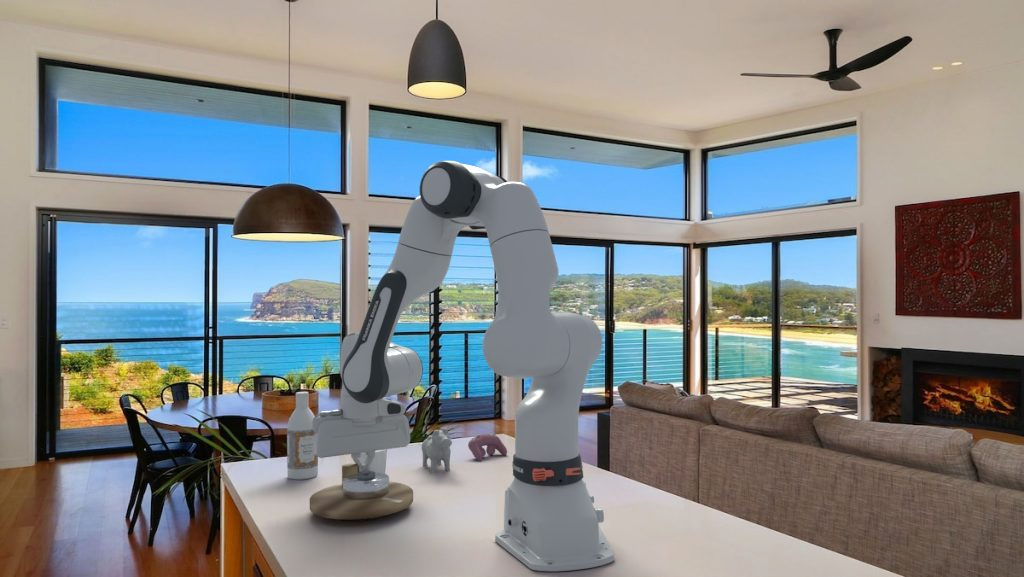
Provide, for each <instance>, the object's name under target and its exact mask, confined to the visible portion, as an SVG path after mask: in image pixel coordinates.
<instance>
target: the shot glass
mask: <svg viewBox="0 0 1024 577" xmlns="http://www.w3.org/2000/svg"><path fill="white" fill-rule="evenodd" d="M387 454H388V449H385V450H377V451H375V457H374V459H373V461H372V462H371V464H370V471H374V472H375V473H383V474H386V468H387V457H388V456H387ZM358 459H359V461H360V463H361V464H363V463H365V461H366V459H367V455H366V452H362V453H361V457H360V458H358Z"/></svg>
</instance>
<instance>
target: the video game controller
mask: <svg viewBox="0 0 1024 577" xmlns="http://www.w3.org/2000/svg"><path fill="white" fill-rule="evenodd" d="M467 444H468V445H467V447H468V449H469V451H470V452H471V454H472V455H473V457H474V458H475V459H476V460H477V461H479V462H481V461H482V460H483V457H485V456H486V455H488V456H492V455H494V454H496V450H497V451H498V453H499V454H500V455H502V456H507V454H508V449H507V447H506V445H505V444H504V443H503V442H502V440H501V438H500V437H499V436H498V435H496V434H495V433H493V434H491V433H490V434H489V433H483V434H478V435H476V436H474V437H473V438H471V440H469V441H468V442H467ZM484 446H486V449H485V448H484Z"/></svg>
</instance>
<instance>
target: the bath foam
mask: <svg viewBox="0 0 1024 577" xmlns="http://www.w3.org/2000/svg"><path fill="white" fill-rule="evenodd" d="M309 398H310V397H309V392H308V391H298V392H295V408H294V410H293V412H292V413H291V415H290V417H289V418H288V422H287V428H286V445H287V446H286V448H287V449H286V450H287V451H286V452H287V453H286V455H287V457H286V458H287V459H286V460H287V461H286V463H287V466H286V468H287V478H288V479H290V480H295V481H297V480H298V481H301V480H309V479H313V478H316V477H317V476H318V473H319V457H318V456H317V455H315V453H314V452H313V442H314V434H315V432H314V431H313V419H314V417H315V416H316V415H315V414H314V412H313V411H312V410H311V409H310V408H311V407H309V404H310V403H309V402H310V401H309Z"/></svg>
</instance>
